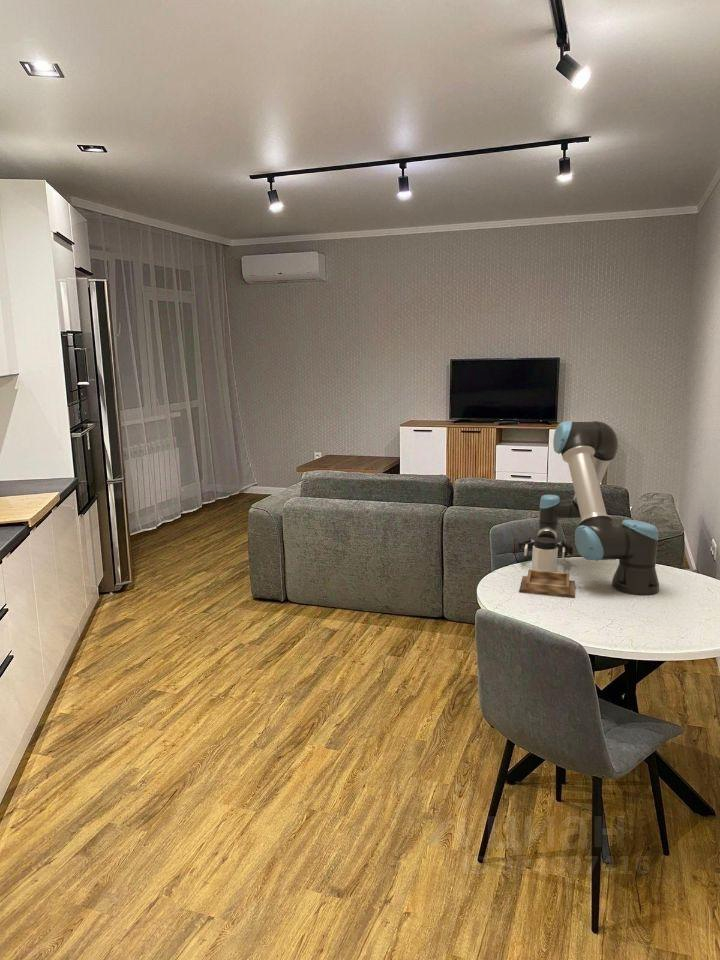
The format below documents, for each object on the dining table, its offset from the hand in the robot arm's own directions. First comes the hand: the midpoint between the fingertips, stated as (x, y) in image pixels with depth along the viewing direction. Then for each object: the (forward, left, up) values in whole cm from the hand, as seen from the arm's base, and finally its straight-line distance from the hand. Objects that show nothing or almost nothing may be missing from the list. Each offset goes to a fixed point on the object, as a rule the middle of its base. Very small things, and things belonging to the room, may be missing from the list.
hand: (544, 554), depth 264 cm
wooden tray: (-2, +19, -6) cm, 20 cm away
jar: (0, +1, -7) cm, 7 cm away
